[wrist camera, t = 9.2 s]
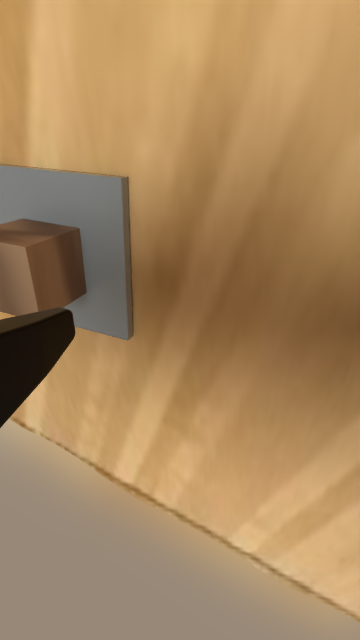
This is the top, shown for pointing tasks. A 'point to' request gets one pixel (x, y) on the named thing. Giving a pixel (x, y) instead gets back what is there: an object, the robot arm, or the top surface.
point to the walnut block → (39, 266)
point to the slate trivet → (82, 235)
